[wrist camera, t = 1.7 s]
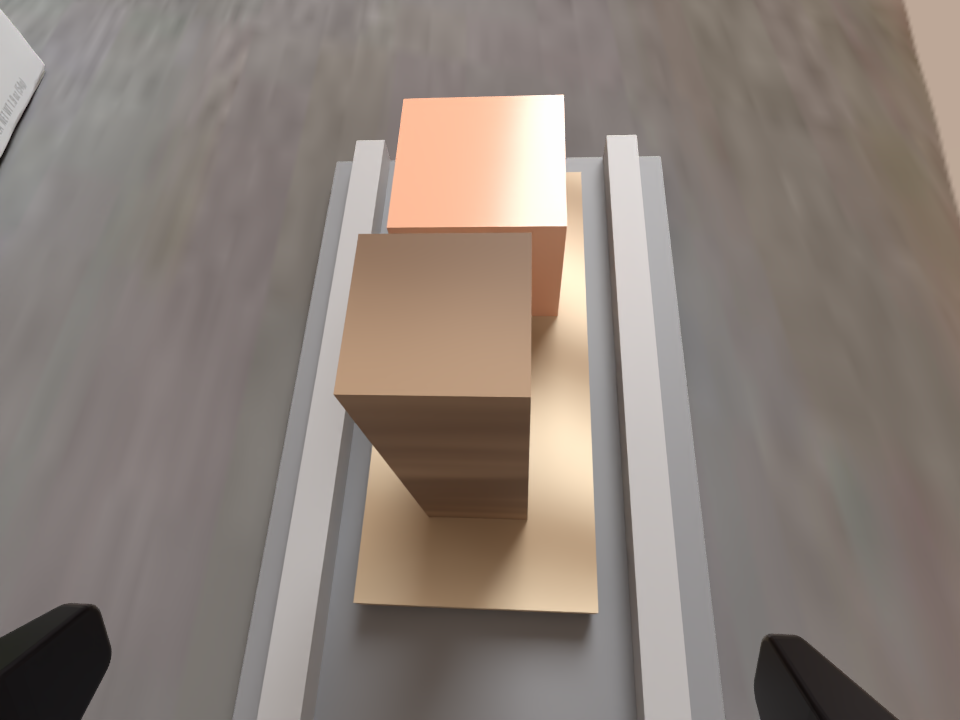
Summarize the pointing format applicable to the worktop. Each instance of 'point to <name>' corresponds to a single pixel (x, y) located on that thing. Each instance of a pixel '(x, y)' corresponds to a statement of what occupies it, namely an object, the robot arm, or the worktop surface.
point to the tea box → (15, 77)
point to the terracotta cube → (487, 176)
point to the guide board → (617, 506)
